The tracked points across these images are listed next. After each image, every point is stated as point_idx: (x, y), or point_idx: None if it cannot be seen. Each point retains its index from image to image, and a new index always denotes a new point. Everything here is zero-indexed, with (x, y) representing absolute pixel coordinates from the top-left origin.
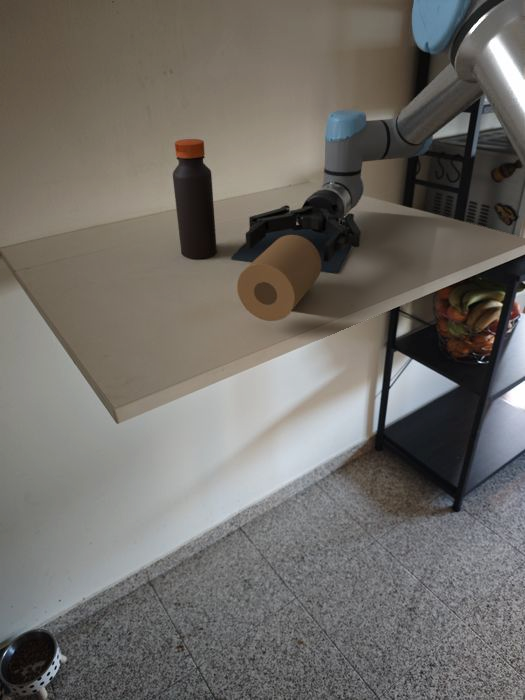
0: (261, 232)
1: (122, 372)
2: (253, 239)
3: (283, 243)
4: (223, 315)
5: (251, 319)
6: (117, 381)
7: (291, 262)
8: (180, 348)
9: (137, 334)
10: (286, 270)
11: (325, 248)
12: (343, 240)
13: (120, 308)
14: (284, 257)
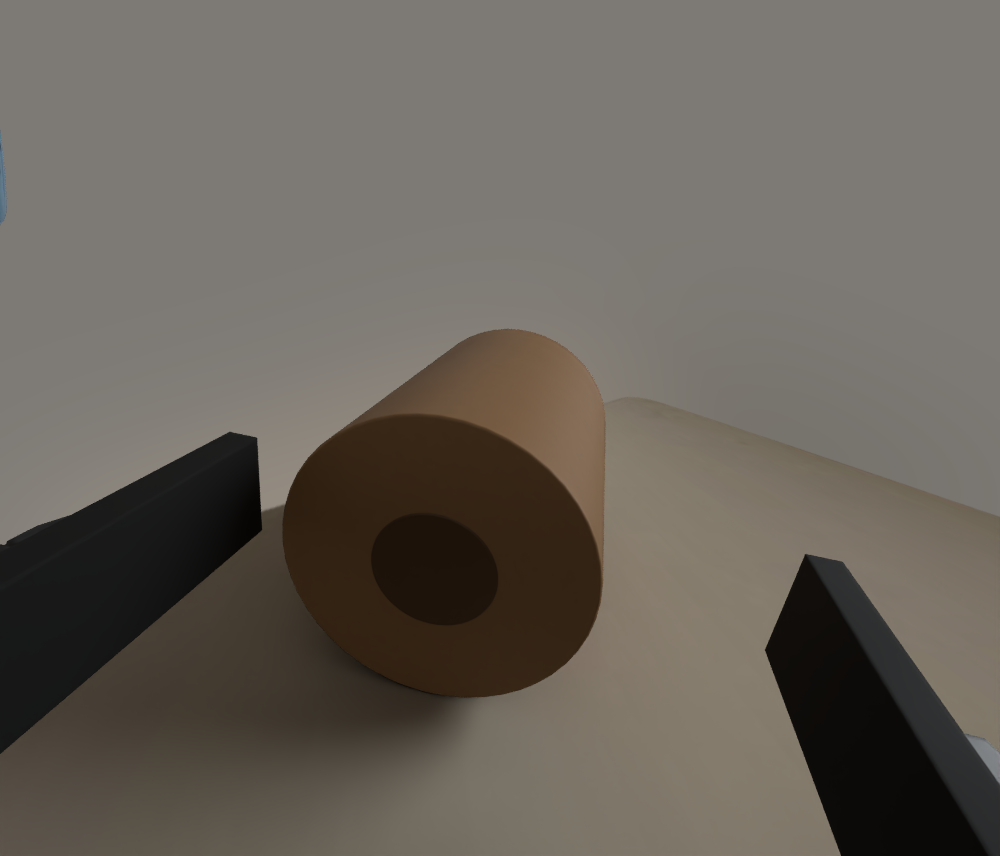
0: (889, 833)
1: (682, 422)
2: (804, 656)
3: (498, 377)
4: (625, 521)
5: None
6: (672, 414)
7: (445, 355)
8: (639, 449)
9: (755, 475)
10: (456, 345)
11: (251, 458)
12: (6, 546)
13: (913, 543)
14: (472, 346)
